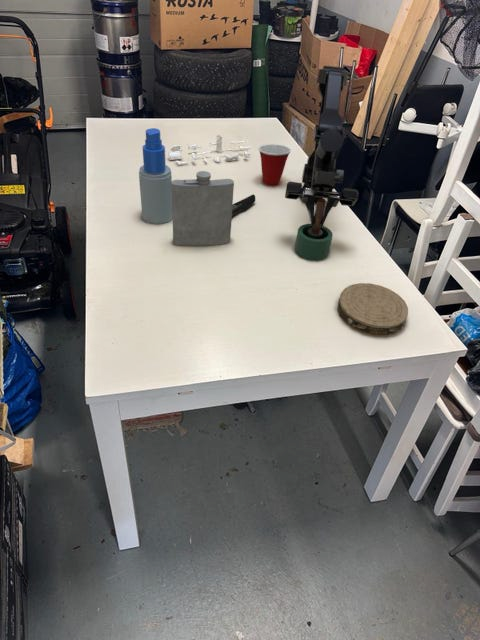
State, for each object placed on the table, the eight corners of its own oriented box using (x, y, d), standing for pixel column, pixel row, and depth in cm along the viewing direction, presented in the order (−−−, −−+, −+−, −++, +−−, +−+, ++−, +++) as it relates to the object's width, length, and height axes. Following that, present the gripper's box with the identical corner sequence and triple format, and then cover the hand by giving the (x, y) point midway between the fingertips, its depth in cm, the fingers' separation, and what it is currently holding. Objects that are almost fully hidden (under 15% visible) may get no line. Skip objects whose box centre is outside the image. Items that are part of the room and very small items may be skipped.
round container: (315, 239, 133) (318, 220, 129) (335, 256, 127) (339, 237, 123) (288, 246, 129) (291, 227, 125) (307, 263, 123) (311, 244, 119)
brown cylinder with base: (309, 238, 129) (318, 195, 120) (322, 243, 127) (332, 200, 119) (303, 244, 126) (311, 201, 118) (316, 249, 125) (325, 206, 116)
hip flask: (229, 237, 131) (233, 169, 117) (231, 244, 128) (236, 176, 115) (172, 239, 128) (170, 170, 114) (174, 247, 125) (172, 177, 111)
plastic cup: (276, 173, 166) (281, 140, 158) (291, 186, 158) (297, 152, 151) (249, 177, 162) (252, 143, 154) (264, 190, 155) (268, 155, 147)
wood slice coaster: (416, 332, 105) (421, 323, 103) (352, 339, 102) (355, 329, 100) (386, 290, 117) (389, 280, 115) (327, 295, 113) (329, 285, 111)
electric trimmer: (258, 205, 147) (259, 195, 145) (227, 221, 137) (228, 212, 135) (248, 201, 149) (249, 192, 146) (218, 217, 139) (218, 207, 137)
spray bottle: (153, 206, 141) (148, 122, 125) (178, 214, 138) (176, 129, 122) (136, 218, 135) (128, 131, 118) (162, 227, 132) (158, 139, 116)
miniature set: (247, 146, 181) (258, 162, 174) (159, 157, 172) (167, 175, 165) (248, 130, 176) (259, 147, 169) (158, 141, 167) (166, 159, 160)
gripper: (291, 151, 115) (283, 212, 114) (366, 159, 114) (359, 221, 113) (288, 168, 126) (281, 224, 125) (356, 176, 125) (350, 232, 124)
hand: (317, 225), depth 121 cm, fingers closed on brown cylinder with base, 2 cm apart
